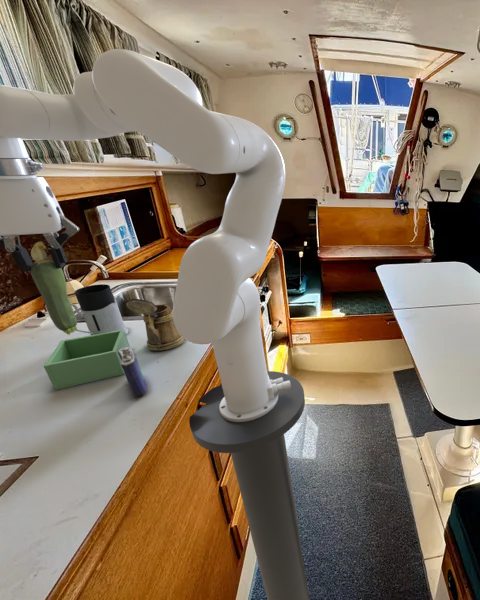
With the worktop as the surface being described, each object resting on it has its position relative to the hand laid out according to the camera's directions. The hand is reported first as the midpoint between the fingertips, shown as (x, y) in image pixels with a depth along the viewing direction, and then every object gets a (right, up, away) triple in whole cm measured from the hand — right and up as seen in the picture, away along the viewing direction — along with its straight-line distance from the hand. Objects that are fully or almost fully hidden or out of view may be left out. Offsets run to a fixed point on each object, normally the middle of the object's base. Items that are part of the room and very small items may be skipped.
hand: (45, 267), depth 64 cm
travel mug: (-17, -18, +31) cm, 40 cm away
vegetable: (-1, -14, +6) cm, 15 cm away
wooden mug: (+3, -20, +28) cm, 35 cm away
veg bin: (-7, -24, +18) cm, 31 cm away
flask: (+9, -27, +12) cm, 31 cm away
